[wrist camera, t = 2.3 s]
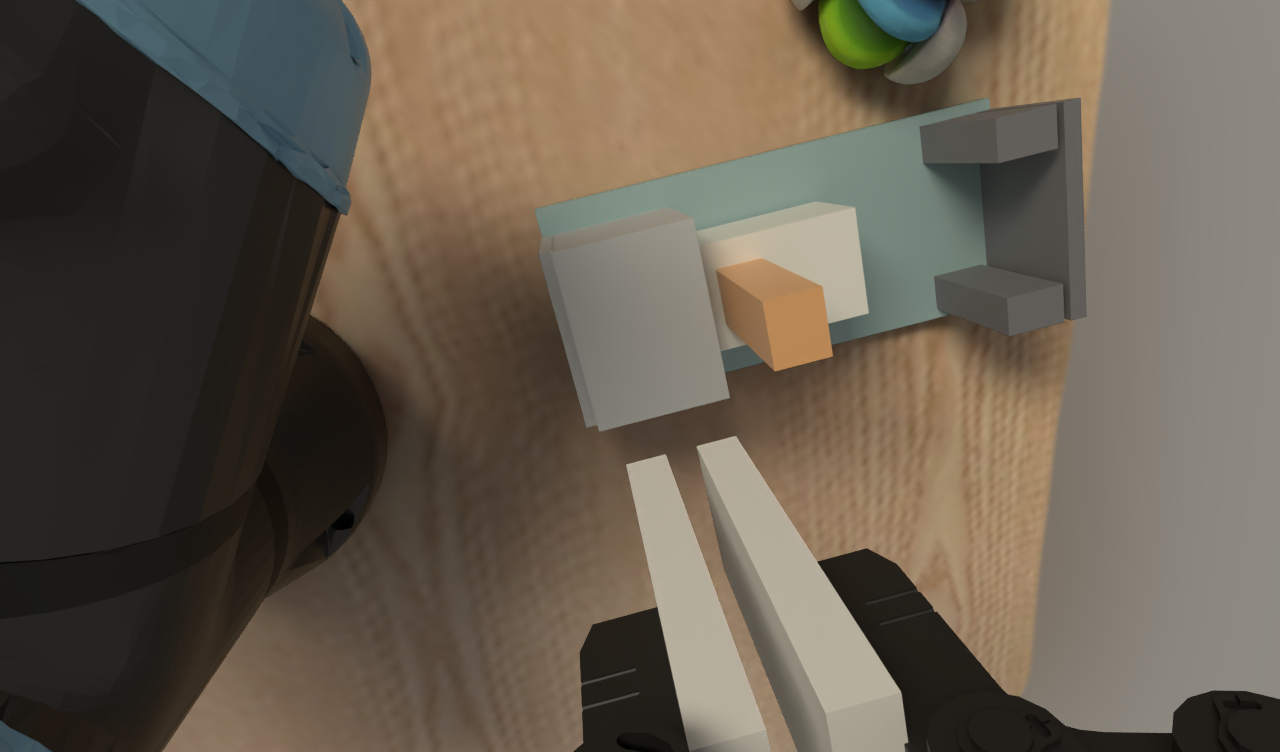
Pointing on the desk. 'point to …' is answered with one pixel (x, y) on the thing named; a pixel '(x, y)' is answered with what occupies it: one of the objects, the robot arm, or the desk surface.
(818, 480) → the desk surface
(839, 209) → the block with wooden peg
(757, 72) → the desk surface
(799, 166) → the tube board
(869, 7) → the rainbow disc toy
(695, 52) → the desk surface
